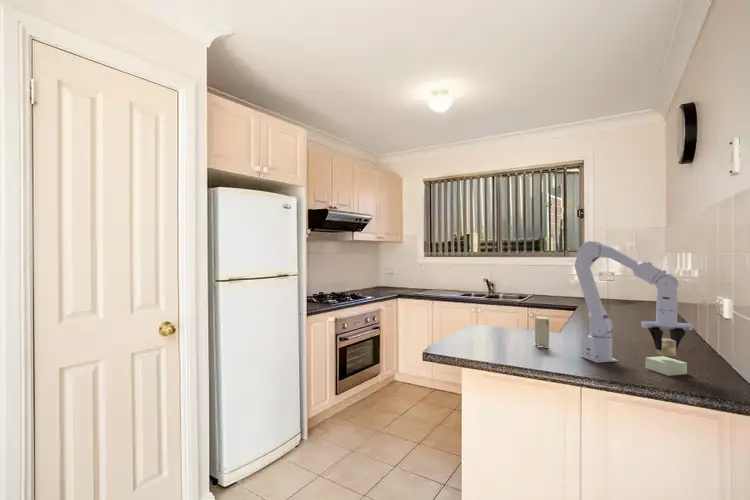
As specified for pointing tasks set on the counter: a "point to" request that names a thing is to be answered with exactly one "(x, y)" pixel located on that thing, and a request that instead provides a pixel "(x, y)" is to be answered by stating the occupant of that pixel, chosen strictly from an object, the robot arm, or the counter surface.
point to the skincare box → (542, 331)
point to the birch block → (667, 347)
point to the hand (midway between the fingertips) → (666, 349)
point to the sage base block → (666, 365)
